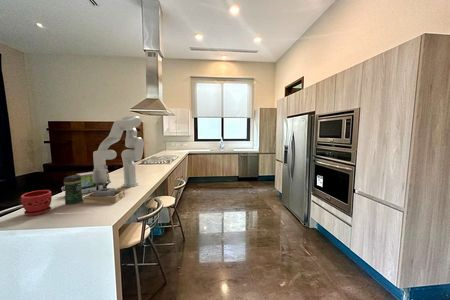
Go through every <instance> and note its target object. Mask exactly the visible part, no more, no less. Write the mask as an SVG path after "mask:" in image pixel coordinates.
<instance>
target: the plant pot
mask: <svg viewBox="0 0 450 300" xmlns="http://www.w3.org/2000/svg"><path fill="white" fill-rule="evenodd" d="M52 199H53V197H52V191H51V190H49V189H44V190H43V189H41V190H39V189H38V190H33V191H30V192H25V193H24V194H22V195H20V201H21V205H22V208H23V209H24V210H25V211H24V212H23V213H24V215H26V216H31V217H33V216H39V215H43V214H46V213H48V212H50V210H51V209H52V207H51V203H52Z"/></svg>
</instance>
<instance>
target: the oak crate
mask: <svg viewBox="0 0 450 300" xmlns="http://www.w3.org/2000/svg"><path fill="white" fill-rule="evenodd" d="M94 192H95V191H93V192H90V193H89V194H88V195H87V194H86V195H85V196H84V197H83V196H82V198H83V200H82V201H83V202H82V203H83V205H105V204H109V205H110V204H117V203H118V202H119V201H121V200H122V199H123V198H125V190H115V196H105V197H94Z"/></svg>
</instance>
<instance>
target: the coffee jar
mask: <svg viewBox="0 0 450 300" xmlns="http://www.w3.org/2000/svg"><path fill="white" fill-rule="evenodd" d="M63 185H64V194H65V195H64V203H65V205H69V206H70V205H76V204H79V203H80V202H82V201H83V194H82V191H81V176H80V175H76V174H72V175H69V176H66V177H64V178H63Z"/></svg>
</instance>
